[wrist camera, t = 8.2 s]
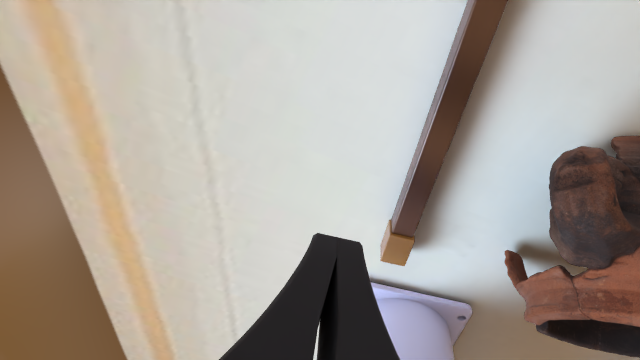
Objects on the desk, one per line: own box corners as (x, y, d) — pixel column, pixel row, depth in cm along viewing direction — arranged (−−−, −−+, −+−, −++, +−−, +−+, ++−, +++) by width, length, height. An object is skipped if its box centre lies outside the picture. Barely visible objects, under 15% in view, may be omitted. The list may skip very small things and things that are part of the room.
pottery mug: (755, 200, 18) (807, 386, 15) (546, 222, 26) (547, 352, 22) (688, 40, 13) (747, 280, 9) (443, 127, 20) (421, 281, 16)
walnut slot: (675, 309, 22) (691, 330, 21) (380, 244, 23) (380, 261, 21) (1127, -116, 11) (1213, -123, 10) (542, -225, 12) (560, -243, 11)
